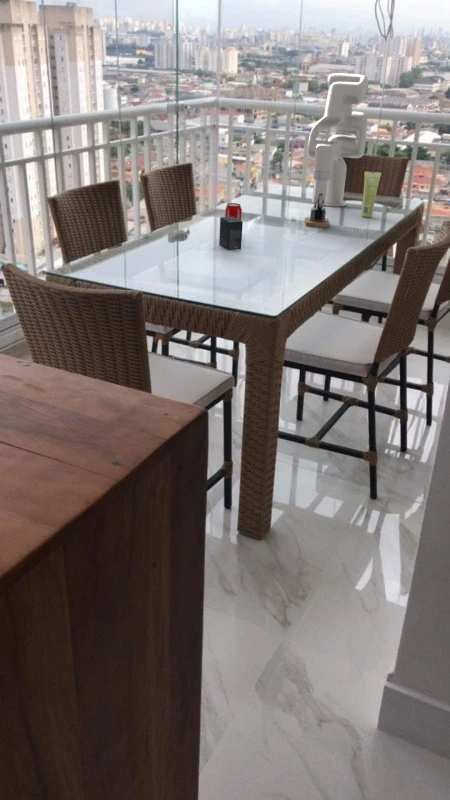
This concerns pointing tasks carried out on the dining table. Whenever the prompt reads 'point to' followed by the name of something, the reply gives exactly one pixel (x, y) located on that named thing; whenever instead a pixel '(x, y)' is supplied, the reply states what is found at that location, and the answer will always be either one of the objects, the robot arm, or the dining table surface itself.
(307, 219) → the stud block
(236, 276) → the dining table surface
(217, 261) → the dining table surface
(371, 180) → the tube
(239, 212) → the soda can
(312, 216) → the cap
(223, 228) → the box
